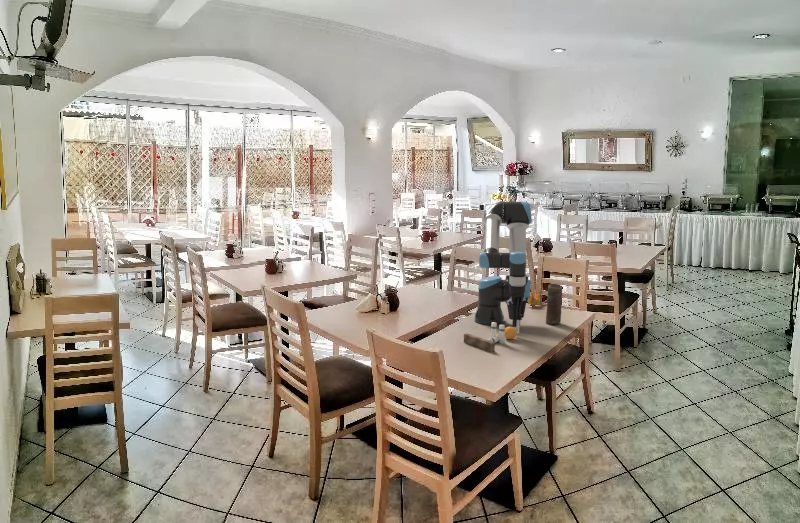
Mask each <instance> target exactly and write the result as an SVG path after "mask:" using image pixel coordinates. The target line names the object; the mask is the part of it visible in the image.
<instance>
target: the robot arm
mask: <svg viewBox="0 0 800 523" xmlns="http://www.w3.org/2000/svg"><path fill="white" fill-rule="evenodd" d="M531 208H532V207H531V205H530V203H529V202H528V201H498V202H495V203H493V204H492V205H491V206H490V207H489V208H488V209H487V210H486V211H485V212H484V215H483V225H484V238H483V239H484V241H483V251H482V252H479V255H478V266H479V267H480V268H484V269H508V273H507V275H505V279H502V276H500V275H499V276H498V275H490V276H486V277H481V278H480V279H479V280H478V287H477V289H478V299H477V300H478V302H477V303H478V304H477V309H476V312H475V314H474V321H475V322H476V323H478V324H482V325H490V326H491V325H492V322H496V323H497V325H501V324H502V323H504V321H505V317H504V313H503V310H502V303H505V304H506V307H507V313H508V318H509V320H512V325H511V327H513V328H514V329H515V330H516V335H518V334H520V327H521V321H522V320H523V319H524V317H525V312H526V306H527V303H528V302H527V301H528V299H529V294H530V295H531V286H532V280H531V279H529V276H528V275H527V274H526V272H527V253H526V249H527V248H526V246H527V244H526V243H527V241H526V240H527V229H529V227H530V225H531V224H533V218H532V209H531ZM502 224H506V228H507V229H508V230H509V233H508V236H509V238H508V239H509V240H508V246H509V247H508V252H500V232H501V230H500V228H501V227H500V226H501V225H502Z"/></svg>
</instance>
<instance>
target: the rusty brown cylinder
mask: <svg viewBox="0 0 800 523" xmlns="http://www.w3.org/2000/svg"><path fill="white" fill-rule="evenodd" d="M562 302H563V286H562V285H560V284H556V283H553V284H551V283H550V284H548V286H547V299H546V312H545V313H546V314H545V323H546V324H548V325H549V324H550V325H558V324H560V323H561V319H562Z"/></svg>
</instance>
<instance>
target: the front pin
mask: <svg viewBox="0 0 800 523" xmlns="http://www.w3.org/2000/svg"><path fill="white" fill-rule="evenodd" d="M486 340H488V341H491V342H494V343H495V344H496V343H499V336H496V337H494V338H491V337H490V338H487V339H486Z"/></svg>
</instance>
